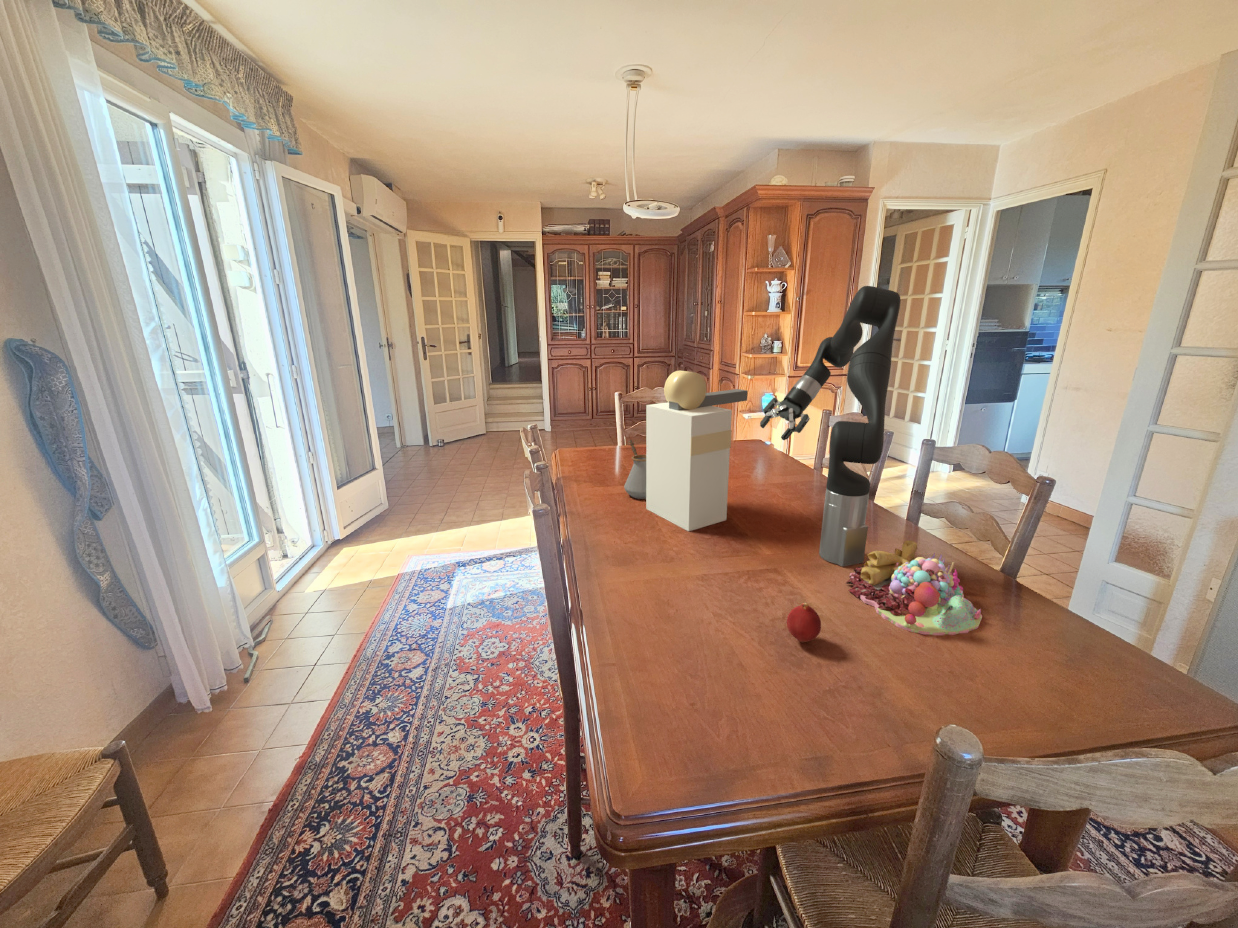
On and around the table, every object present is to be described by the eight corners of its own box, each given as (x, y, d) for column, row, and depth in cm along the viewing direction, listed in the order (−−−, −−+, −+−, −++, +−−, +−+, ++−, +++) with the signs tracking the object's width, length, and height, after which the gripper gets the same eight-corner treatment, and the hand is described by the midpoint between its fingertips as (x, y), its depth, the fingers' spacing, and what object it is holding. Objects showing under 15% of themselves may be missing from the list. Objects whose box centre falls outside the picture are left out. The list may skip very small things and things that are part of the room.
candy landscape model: (825, 581, 113) (829, 543, 110) (904, 562, 121) (910, 526, 118) (925, 647, 90) (934, 602, 88) (1014, 619, 98) (1025, 576, 95)
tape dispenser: (677, 411, 136) (678, 373, 133) (663, 408, 140) (664, 371, 138) (749, 401, 149) (751, 366, 146) (734, 398, 154) (736, 365, 151)
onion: (792, 627, 96) (796, 590, 94) (823, 639, 92) (828, 600, 90) (780, 642, 92) (783, 604, 89) (812, 655, 88) (816, 615, 86)
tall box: (689, 531, 138) (692, 416, 129) (646, 508, 155) (646, 405, 146) (727, 520, 145) (732, 410, 136) (682, 499, 162) (684, 400, 153)
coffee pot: (663, 499, 163) (664, 454, 158) (628, 502, 160) (628, 456, 156) (646, 478, 183) (646, 438, 178) (615, 481, 180) (614, 440, 176)
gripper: (782, 378, 165) (751, 418, 165) (819, 396, 156) (787, 438, 156) (787, 389, 171) (757, 428, 171) (824, 407, 162) (792, 447, 162)
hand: (771, 432), depth 164 cm, fingers open, 8 cm apart
